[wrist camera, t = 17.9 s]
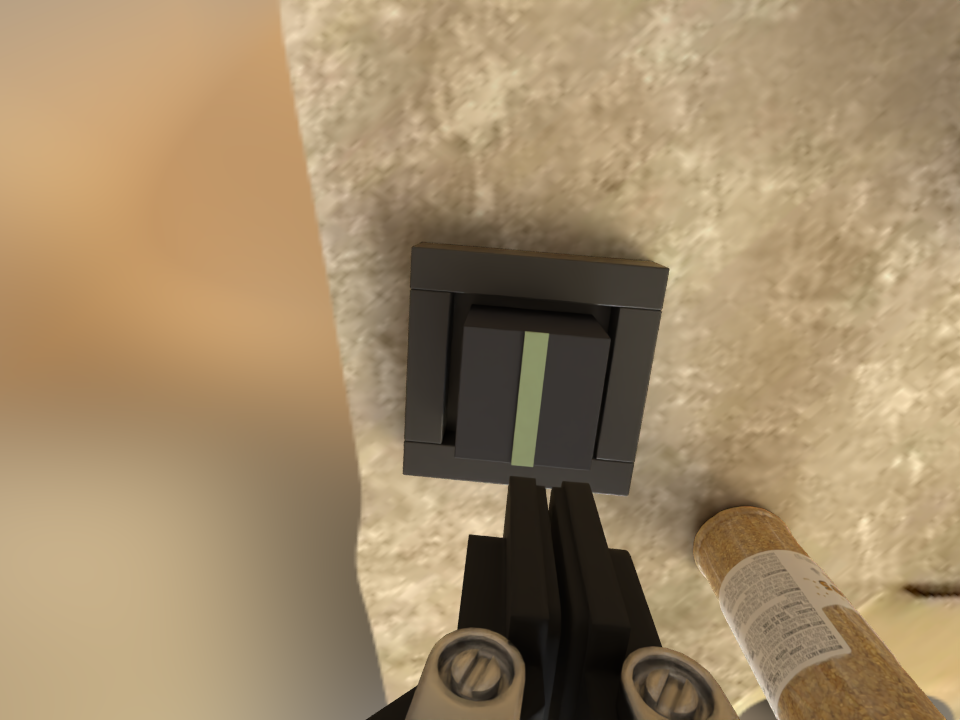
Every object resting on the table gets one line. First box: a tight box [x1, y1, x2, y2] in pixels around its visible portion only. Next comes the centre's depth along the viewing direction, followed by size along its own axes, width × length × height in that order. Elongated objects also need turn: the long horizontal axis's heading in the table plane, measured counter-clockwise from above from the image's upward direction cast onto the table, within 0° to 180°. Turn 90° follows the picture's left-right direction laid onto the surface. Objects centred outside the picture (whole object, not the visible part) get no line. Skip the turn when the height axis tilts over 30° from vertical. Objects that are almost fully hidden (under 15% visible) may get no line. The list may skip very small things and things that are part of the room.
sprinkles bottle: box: [693, 506, 946, 720], centre depth 19 cm, size 5×5×13 cm
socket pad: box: [403, 242, 669, 496], centre depth 22 cm, size 10×10×2 cm
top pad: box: [454, 304, 611, 471], centre depth 20 cm, size 5×5×4 cm
